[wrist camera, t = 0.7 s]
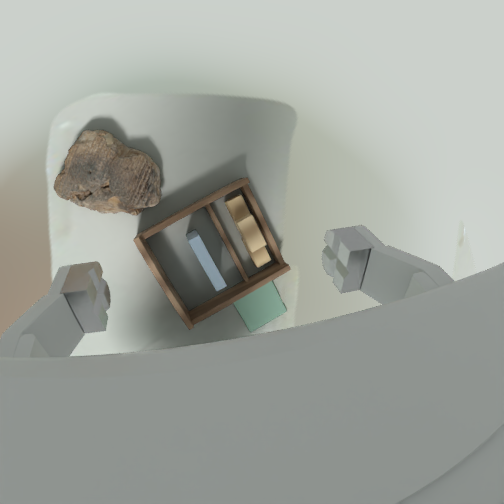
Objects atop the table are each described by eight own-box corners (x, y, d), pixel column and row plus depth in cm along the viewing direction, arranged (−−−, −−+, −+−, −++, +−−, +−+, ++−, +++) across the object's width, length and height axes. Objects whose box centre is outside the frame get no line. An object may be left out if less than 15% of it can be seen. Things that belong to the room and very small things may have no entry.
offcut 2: (267, 257, 59) (271, 260, 56) (254, 264, 58) (257, 267, 56) (254, 231, 57) (258, 232, 55) (240, 238, 57) (244, 240, 54)
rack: (282, 263, 60) (292, 270, 54) (187, 317, 56) (189, 330, 51) (241, 178, 54) (248, 177, 49) (136, 235, 51) (133, 240, 45)
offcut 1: (251, 222, 56) (255, 224, 54) (237, 229, 56) (240, 231, 54) (238, 194, 55) (241, 194, 52) (224, 201, 54) (226, 202, 52)
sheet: (219, 274, 57) (226, 285, 50) (210, 279, 56) (216, 291, 50) (195, 229, 54) (198, 235, 47) (185, 234, 53) (188, 241, 47)
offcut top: (262, 241, 55) (266, 244, 53) (248, 249, 55) (252, 252, 52) (248, 213, 53) (252, 215, 51) (234, 221, 53) (237, 223, 51)
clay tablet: (177, 164, 50) (86, 123, 43) (178, 163, 46) (78, 118, 39) (145, 234, 52) (55, 192, 45) (143, 239, 47) (46, 194, 40)
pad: (286, 310, 62) (286, 311, 62) (250, 331, 61) (250, 332, 61) (269, 276, 59) (270, 276, 59) (230, 298, 58) (231, 299, 58)
